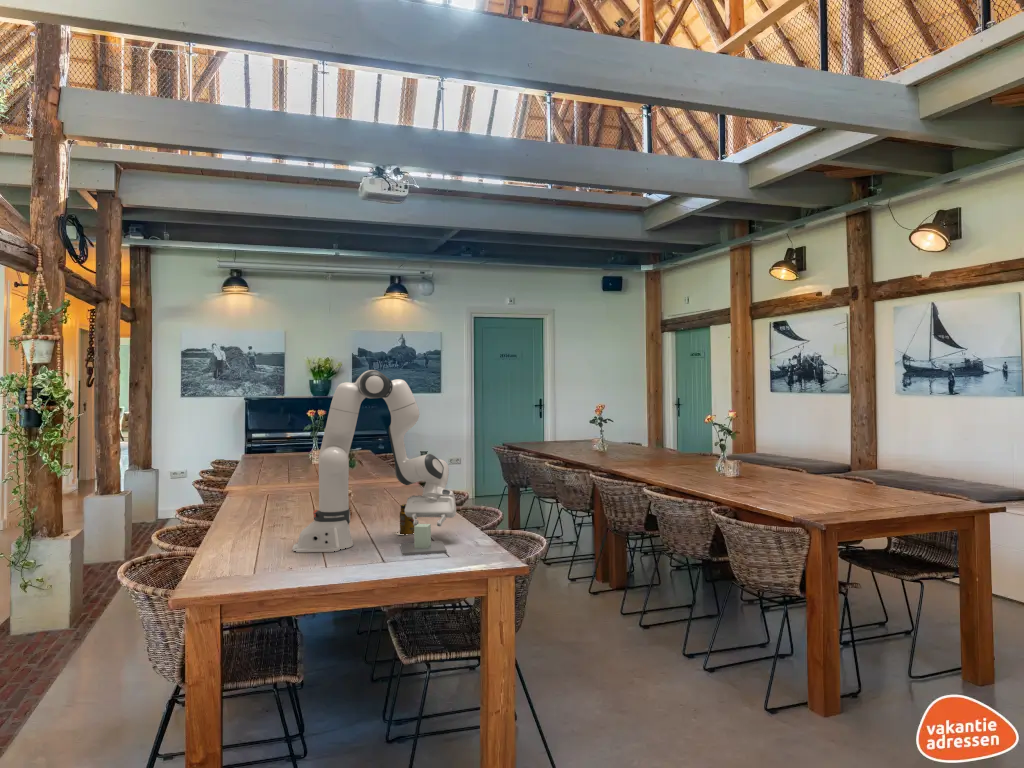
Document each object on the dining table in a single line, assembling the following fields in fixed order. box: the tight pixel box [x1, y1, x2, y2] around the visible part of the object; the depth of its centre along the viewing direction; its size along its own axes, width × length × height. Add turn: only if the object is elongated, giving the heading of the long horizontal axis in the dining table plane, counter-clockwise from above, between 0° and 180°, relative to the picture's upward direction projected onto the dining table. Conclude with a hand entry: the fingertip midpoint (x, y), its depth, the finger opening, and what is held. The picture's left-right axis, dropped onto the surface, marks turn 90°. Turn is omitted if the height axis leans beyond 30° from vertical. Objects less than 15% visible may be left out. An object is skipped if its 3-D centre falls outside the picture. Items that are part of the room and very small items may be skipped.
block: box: [413, 523, 432, 548], centre depth 260 cm, size 5×5×8 cm
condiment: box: [393, 503, 415, 536], centre depth 288 cm, size 7×8×12 cm
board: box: [400, 540, 448, 556], centre depth 260 cm, size 16×16×1 cm
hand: (427, 525), depth 266 cm, fingers open, 8 cm apart
